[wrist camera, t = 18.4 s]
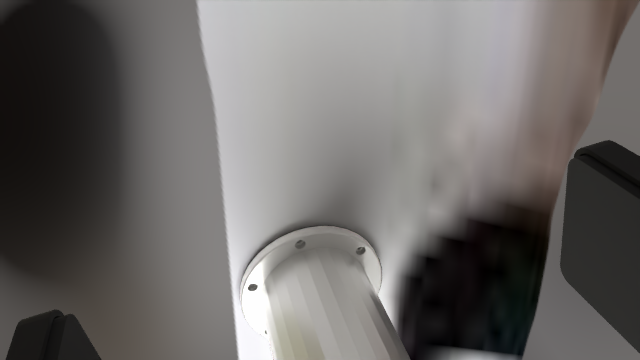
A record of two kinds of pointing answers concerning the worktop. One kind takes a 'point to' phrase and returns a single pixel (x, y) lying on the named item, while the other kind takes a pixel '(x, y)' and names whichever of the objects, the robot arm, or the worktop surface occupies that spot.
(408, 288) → the worktop surface
